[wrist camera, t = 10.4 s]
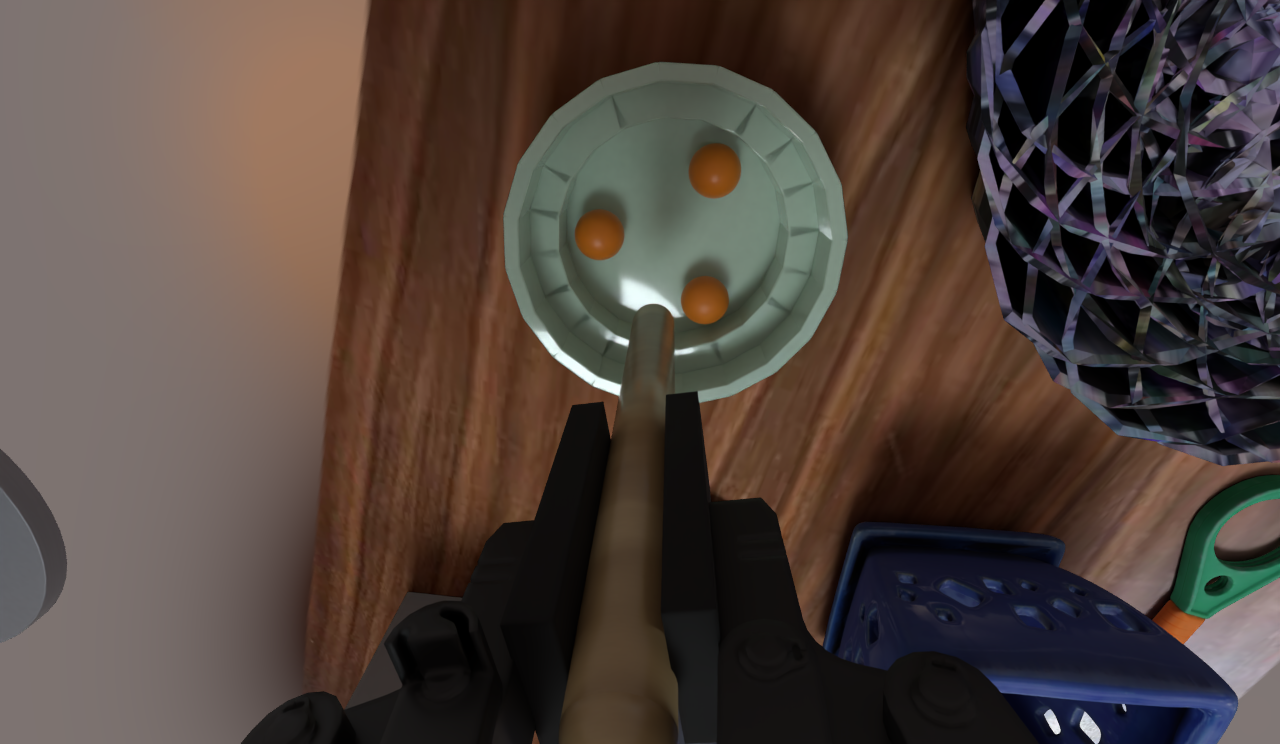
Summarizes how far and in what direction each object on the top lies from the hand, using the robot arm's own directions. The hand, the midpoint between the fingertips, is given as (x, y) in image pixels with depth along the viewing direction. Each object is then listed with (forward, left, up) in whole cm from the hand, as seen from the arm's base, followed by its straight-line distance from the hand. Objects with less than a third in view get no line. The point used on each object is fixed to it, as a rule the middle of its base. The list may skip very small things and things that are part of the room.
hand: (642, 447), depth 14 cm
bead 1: (-3, +1, -14) cm, 14 cm away
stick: (0, 0, -10) cm, 10 cm away
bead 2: (0, +6, -14) cm, 15 cm away
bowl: (0, +2, -15) cm, 16 cm away
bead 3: (+2, 0, -14) cm, 14 cm away
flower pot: (+22, -12, -16) cm, 29 cm away
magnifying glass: (+36, -5, -16) cm, 40 cm away
